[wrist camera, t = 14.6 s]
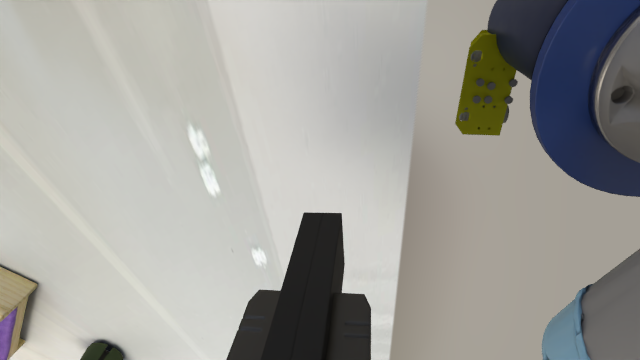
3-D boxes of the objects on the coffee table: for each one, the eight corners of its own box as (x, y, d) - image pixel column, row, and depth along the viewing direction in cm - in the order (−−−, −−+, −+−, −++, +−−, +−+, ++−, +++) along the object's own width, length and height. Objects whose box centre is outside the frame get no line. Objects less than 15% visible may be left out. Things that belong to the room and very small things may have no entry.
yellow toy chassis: (505, 136, 59) (454, 135, 60) (495, 124, 64) (448, 122, 65) (533, 34, 51) (472, 34, 52) (519, 29, 56) (464, 29, 57)
